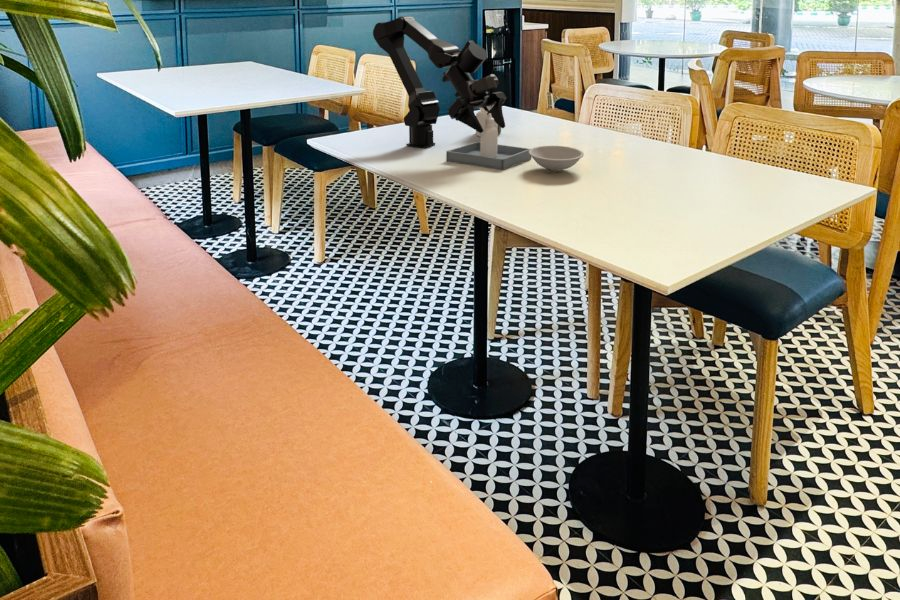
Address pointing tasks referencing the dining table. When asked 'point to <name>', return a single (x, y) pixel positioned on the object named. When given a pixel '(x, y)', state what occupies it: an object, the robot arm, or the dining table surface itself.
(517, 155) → the slate tray
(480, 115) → the medicine bottle
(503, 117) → the robot arm
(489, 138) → the eye dropper bottle
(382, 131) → the dining table surface
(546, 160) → the dish
